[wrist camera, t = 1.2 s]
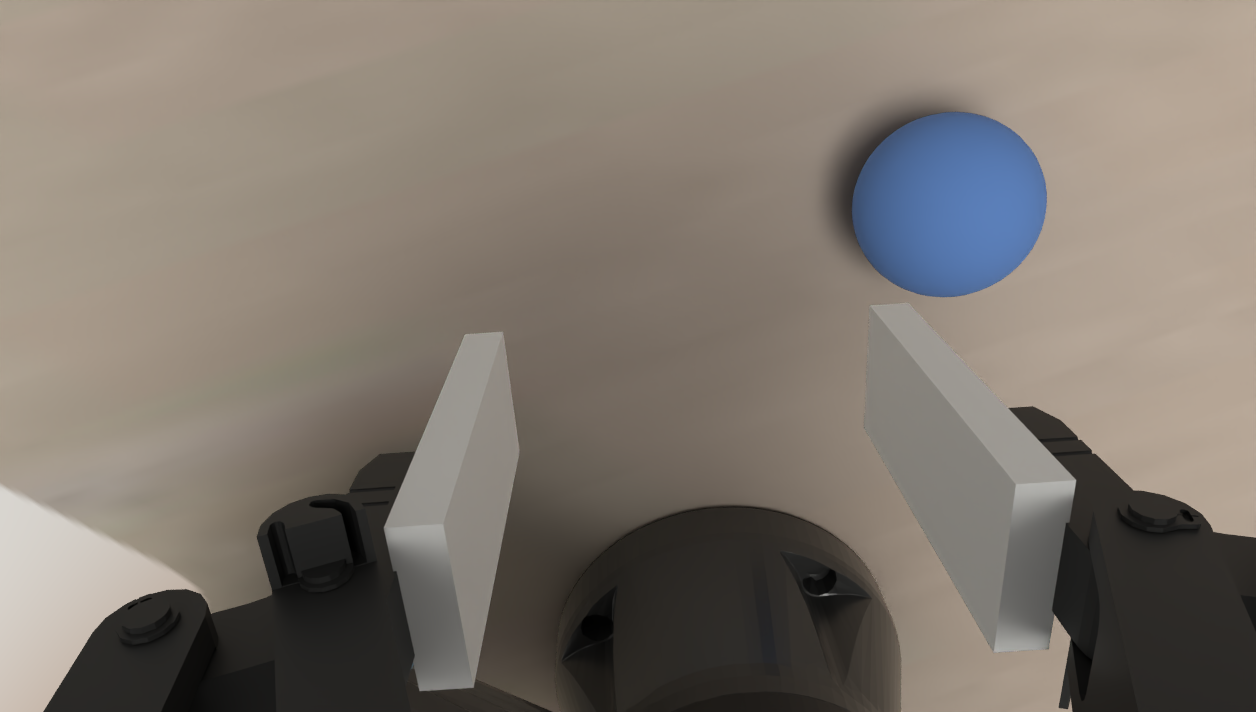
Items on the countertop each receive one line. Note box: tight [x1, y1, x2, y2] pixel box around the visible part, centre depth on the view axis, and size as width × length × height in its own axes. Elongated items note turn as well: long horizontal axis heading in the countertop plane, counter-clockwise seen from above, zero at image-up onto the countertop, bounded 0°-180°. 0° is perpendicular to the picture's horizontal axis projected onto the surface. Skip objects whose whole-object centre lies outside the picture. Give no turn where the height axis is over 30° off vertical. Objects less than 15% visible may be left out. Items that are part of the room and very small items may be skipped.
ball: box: [852, 112, 1047, 297], centre depth 28 cm, size 6×6×6 cm
